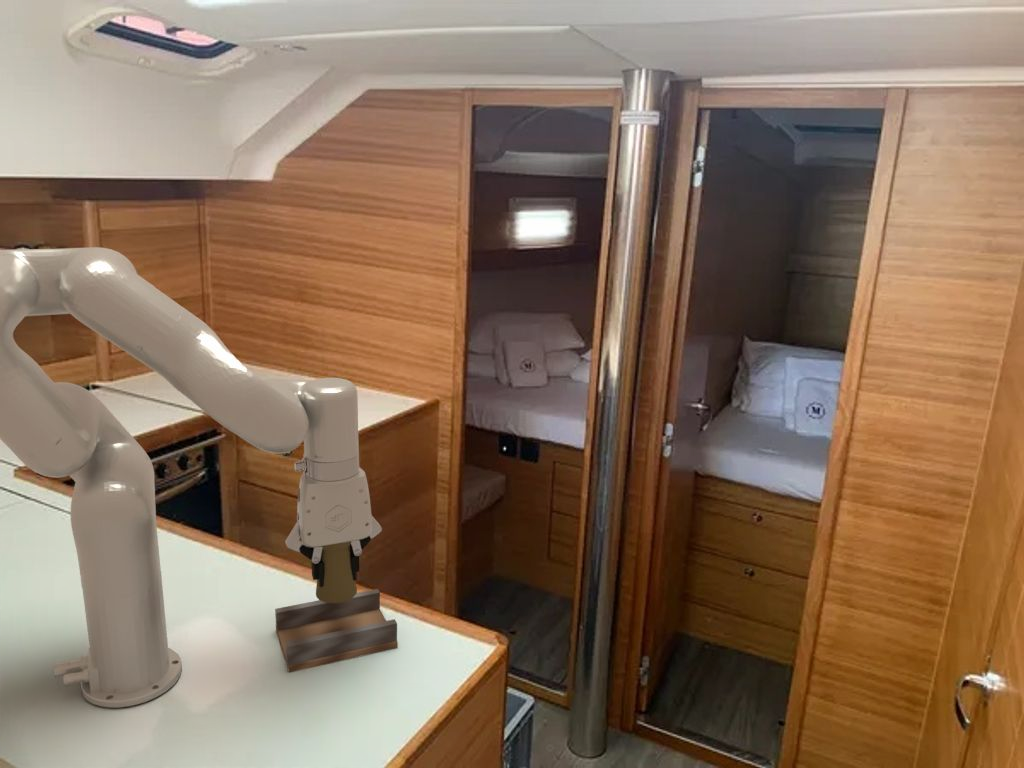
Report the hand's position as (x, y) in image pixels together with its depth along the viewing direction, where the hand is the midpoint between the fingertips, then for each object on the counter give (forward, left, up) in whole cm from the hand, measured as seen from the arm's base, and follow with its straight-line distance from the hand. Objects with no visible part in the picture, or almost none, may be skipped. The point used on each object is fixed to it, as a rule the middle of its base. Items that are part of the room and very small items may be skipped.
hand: (336, 578), depth 119 cm
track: (0, 0, -10) cm, 10 cm away
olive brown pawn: (0, 0, -2) cm, 2 cm away
